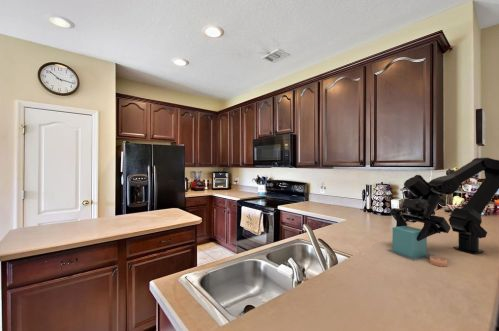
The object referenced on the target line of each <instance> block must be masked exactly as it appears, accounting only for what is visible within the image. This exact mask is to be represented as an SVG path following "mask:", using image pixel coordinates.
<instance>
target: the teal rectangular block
mask: <svg viewBox="0 0 499 331" xmlns="http://www.w3.org/2000/svg"><path fill="white" fill-rule="evenodd" d="M421 230H422V228H417V227H413V226H409V225H407V226H399V227H396V226H392V249H393V251H394V252H396V253H399V254H402V255H404V256H407V257H410V258H412V259H413V258H418V257H423V256H427V253H428V252H427V251H428V249H427V248H428V247H427V246H428V240H427V239H428V237H426V238H424V239H422V240H420V241H417V236H418V234H419V233H420V231H421Z"/></svg>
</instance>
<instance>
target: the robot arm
mask: <svg viewBox="0 0 499 331" xmlns="http://www.w3.org/2000/svg"><path fill="white" fill-rule="evenodd" d="M483 171H484V172H483ZM481 172H483V173H484V179H483V181H482V182H481V183H480V184H479V186H478V188H477V189H476V191H475V192H474V193H473V195H472V196H471V197H470V199H469V200H468V201H467V203H466V204H465V206H464V207H462V208H459V207H455V208H454V209H453V211H452V212H451V213H450V214H449V218H448V221H447V220H446V219H445V217H444V216H440V215H439V216H438V215H436V212H435V210H436V208H437V207H438V205H445V204H446V200H445V199H444V197H443V196H440V195H447V196H450V195H452V194H454V193H455V192H456V191H457V190H459V189H460V186H461V185H462V183H465V182H466V181H467V180H470V179H471V178H472V177H474V176H476V175H477V174H479V173H481ZM403 186H404V188H406V189H407V190H408V191H409V192H410V193H411V195H413V196H414V197H417V198H418V197H420V198H419V199H414V198H406V197H405V198H404V200H403V202H402V205H401V207H403V208H405V209H407V210H406V211H407V212H408V213H406V212H405V211H404V210H403V209H401V208H395V207H393V208H391V210H390V211H389V214H390V215H391V217H392V218H393V219H394V220H395V221H396V225H395V227H399V226H409V225H408V223H407V222H408V221H413V222H418V223H422V224H423V226H422V228H421V229H422V230H421V231H420V233H419V234H418V236H417V241H420V240H422V239H424V238H426V237H427V238H428V237H431V236H433V235H436V234H441V233H444V234H449V232H450V230H451V229H452V232H455V233H457V235H458V237H457V238H458V240H457V241H458V245H456V246H453V249H455V250H459V251H462V252H466V253H469V254H472V255H473V254H474V255H475V254H480V253H484V252H485V251H484V250H483V249H480V239H483V238H485V239H486V237H487V236H488V235H487V234H488V231H487V230H485V229H484V227H482V213H483V212H484V210H485V209H486V207H487V206H488V204H489V203H490V202H491V200H492V199H493V198H494V197H495V195H496V194H497V192H498V191H499V159H496V158H495V159H494V158H490V157H475V158H473V159H472V160H471V161H469V162H468V163H466V164H464V165H462V166H461V167H459V168H457V169H456V170H454V171H453V172H451V173H449V174H447V175H446V174H445V175H442V176H438V177H436V178H432V179H431V180H430V181H429V182H428V181H427V180H425V179H424V177H423V176H422V175H421V174H415V175H414V176H412V177H409V178H408V179H406V180H405V181H404V182H403Z"/></svg>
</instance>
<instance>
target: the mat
mask: <svg viewBox="0 0 499 331" xmlns="http://www.w3.org/2000/svg"><path fill="white" fill-rule="evenodd" d="M387 252H389V253H392V254H395V255H397V256H400V257H402V258H406V259H408V260H411V261H413V262H415V261H419V260H423V259H428V258H429V259H430V256H437V255H436V254H433V253H430V252H427V256H423V257H418V258H413V259H412V258H410V257H407V256H404V255H402V254H399V253H396V252H394V251H393V248H391V249H387Z"/></svg>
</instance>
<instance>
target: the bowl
mask: <svg viewBox="0 0 499 331" xmlns="http://www.w3.org/2000/svg"><path fill="white" fill-rule="evenodd" d="M429 263H430V264H431V265H433V266H437V267H440V268H447V267H448V259H447V258H446V257H443V256H440V255H436V256H430V257H429Z"/></svg>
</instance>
